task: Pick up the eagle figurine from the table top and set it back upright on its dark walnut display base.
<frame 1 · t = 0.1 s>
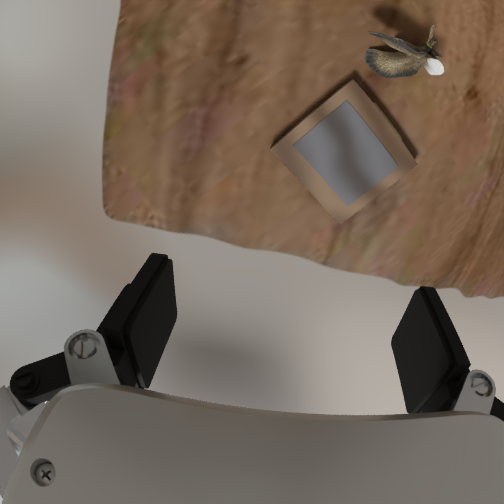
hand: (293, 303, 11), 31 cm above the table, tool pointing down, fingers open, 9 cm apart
eagle figurine: (397, 52, 29), on the table
walnut display base: (345, 152, 37), on the table
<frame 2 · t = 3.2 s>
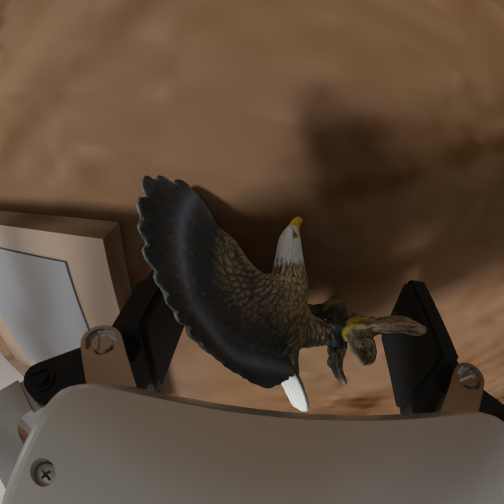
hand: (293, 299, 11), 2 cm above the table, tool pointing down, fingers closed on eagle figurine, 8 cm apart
eagle figurine: (264, 251, 13), on the table, touching gripper
walnut display base: (50, 308, 17), on the table
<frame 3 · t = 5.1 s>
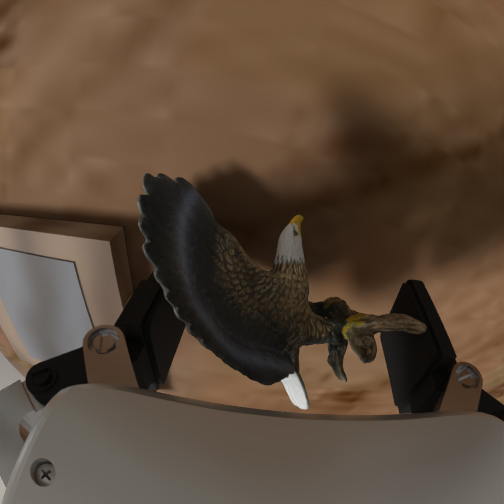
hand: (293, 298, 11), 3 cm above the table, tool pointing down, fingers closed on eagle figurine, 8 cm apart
eagle figurine: (265, 249, 13), point 1 cm above the table, touching gripper
walnut display base: (55, 307, 18), on the table
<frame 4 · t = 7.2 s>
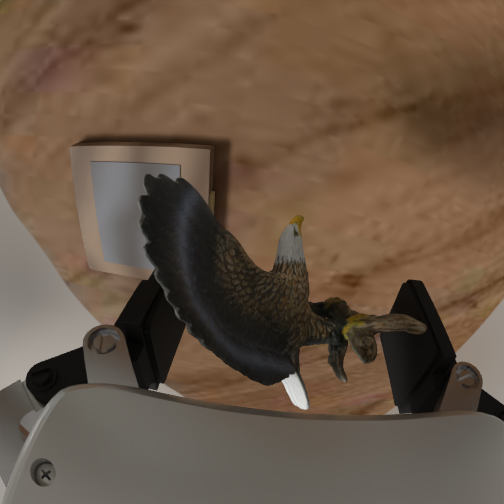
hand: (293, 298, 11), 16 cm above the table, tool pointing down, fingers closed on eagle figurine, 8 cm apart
eagle figurine: (265, 249, 13), point 14 cm above the table, touching gripper
walnut display base: (142, 212, 29), on the table
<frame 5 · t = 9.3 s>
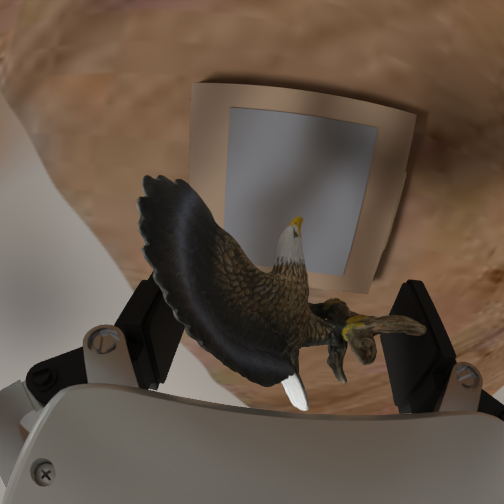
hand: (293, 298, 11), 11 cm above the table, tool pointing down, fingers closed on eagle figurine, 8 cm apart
eagle figurine: (265, 250, 13), point 9 cm above the table, touching gripper
walnut display base: (294, 190, 21), on the table
when the fingers open (4 cm above the table, at t = 11.2 s): eagle figurine stays where it is, resting on walnut display base.
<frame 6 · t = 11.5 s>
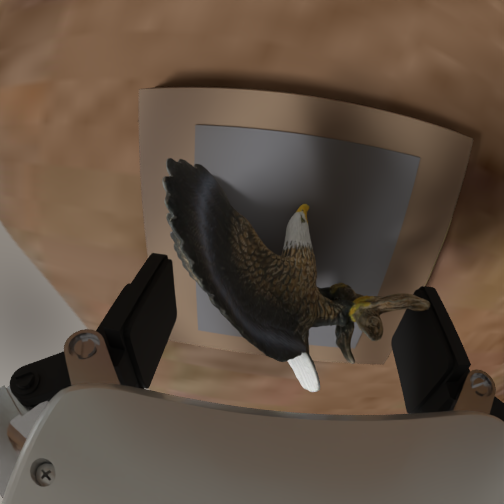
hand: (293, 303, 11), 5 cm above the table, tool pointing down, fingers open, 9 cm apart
eagle figurine: (273, 238, 14), point 1 cm above the table, touching walnut display base
walnut display base: (293, 241, 15), on the table
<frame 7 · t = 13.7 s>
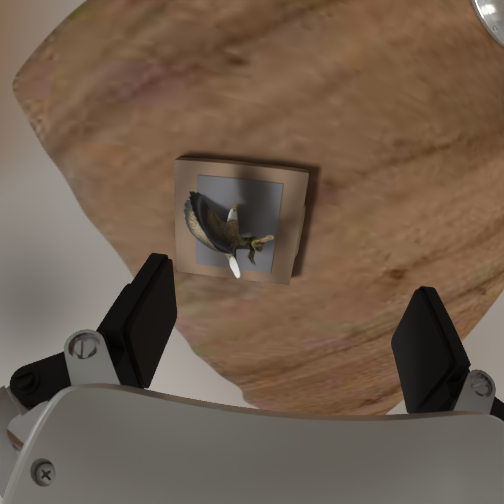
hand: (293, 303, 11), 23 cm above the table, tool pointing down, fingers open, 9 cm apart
eagle figurine: (225, 218, 34), point 1 cm above the table, touching walnut display base
walnut display base: (237, 220, 35), on the table
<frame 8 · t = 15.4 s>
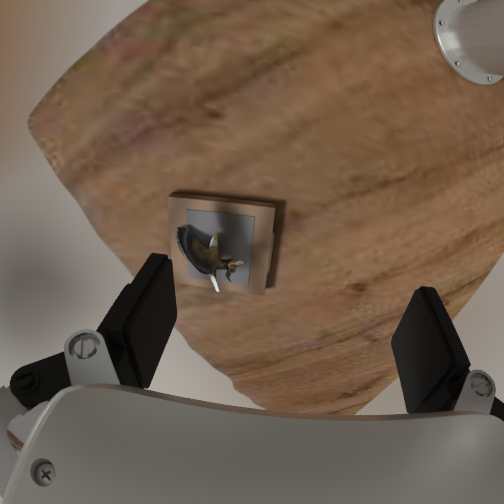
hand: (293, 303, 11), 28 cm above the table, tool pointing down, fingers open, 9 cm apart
eagle figurine: (209, 243, 42), point 1 cm above the table, touching walnut display base
walnut display base: (220, 243, 44), on the table
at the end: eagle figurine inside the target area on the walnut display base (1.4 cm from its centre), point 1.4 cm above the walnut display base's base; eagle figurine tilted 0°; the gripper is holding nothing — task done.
